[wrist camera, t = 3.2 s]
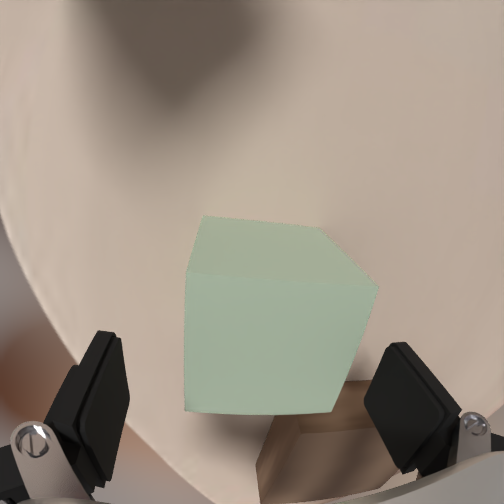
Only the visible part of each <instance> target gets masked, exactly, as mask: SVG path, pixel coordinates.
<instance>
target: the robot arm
mask: <svg viewBox="0 0 504 504" xmlns="http://www.w3.org/2000/svg"><path fill="white" fill-rule="evenodd" d="M129 401H130V394H129V389H128V383H127V377H126V371H125V364H124V357H123V350H122V342H121V338H118V337H116V334H115V333H114V332H107V331H100V330H99V331H97V333H96V335H95V336H94V338H93V340H92V342H91V344H90V345H89V347H88V349H87V351H86V353H85V355H84V357H83V359H82V360H81V362H80V364H79V365H73V366H72V367H71V369H70V370H69V372H68V374H67V376H66V378H65V380H64V382H63V384H62V386H61V388H60V389H59V392H58V393H57V395H56V398H55V399H54V401H53V404H52V406H51V408H50V410H49V412H48V414H47V416H46V418H45V420H44V423H41V422H35V421H31V422H25V423H23V424H21V425H19V426H18V427H17V428H16V429H15V430H14V431H13V433H12V435H11V440H10V441H11V444H10V445H7V446H4V447H1V448H0V504H109V503H104V502H97V501H95V499H94V498H93V496H92V495H91V493H93V492H94V489H95V486H97V487H102V488H104V487H105V482H106V481H111V479H112V474H113V469H114V464H115V460H116V455H117V451H118V447H119V442H120V438H121V434H122V430H123V426H124V422H125V418H126V414H127V410H128V406H129ZM364 406H365V408H366V410H367V412H368V414H369V416H370V417H371V419H372V421H373V423H374V425H375V427H376V429H377V431H378V433H379V435H380V437H381V438H382V440H383V442H384V444H385V446H386V448H387V450H388V452H389V454H390V456H391V458H392V460H393V462H394V464H395V466H396V467H397V468H399V469H400V470H401V472H402V474H406V473H409V472H412V471H414V470H415V469H416V468H417V469H418V475H417V478H416V481H413V482H410V483H408V484H404V485H402V486H398V487H396V488H393V489H389V490H386V491H383V492H379V493H376V494H372V495H369V496H365V497H361V498H357V499H353V500H349V501H344V502H340V503H335V504H504V437H502V436H500V435H496V434H493V433H491V429H490V424H489V423H488V421H487V420H486V419H485V417H483V416H482V415H480V414H478V413H476V412H466V413H465V414H463V415H462V416H461V418H459V416H458V415H459V413H460V412H461V410H462V409H461V408H460V407H459V405H458V404H457V403H456V401H455V400H454V399H453V398H452V396H451V395H450V394H449V393H448V391H447V390H446V389H445V388H444V387H443V385H442V384H441V383H440V382H439V380H438V379H437V378H436V377H435V376H434V374H433V373H432V372H431V371H430V370H429V368H428V367H427V366H426V365H425V364H424V362H423V361H422V360H421V359H420V358H419V357H418V355H417V354H416V353H415V352H414V351H413V350H412V348H411V347H410V346H409V345H408V344H407V343H406V342H396V343H391V344H390V345H389V347H387V348H386V349H385V352H384V354H383V356H382V359H381V361H380V364H379V366H378V368H377V370H376V373H375V375H374V377H373V379H372V382H371V384H370V386H369V388H368V390H367V392H366V394H365V396H364Z"/></svg>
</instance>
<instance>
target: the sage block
mask: <svg viewBox="0 0 504 504" xmlns="http://www.w3.org/2000/svg"><path fill="white" fill-rule="evenodd" d="M378 288H379V286H378V285H377V284H376V283H375V282H374V281H373V280H372V279H371V278H370V277H369V276H368V275H367V274H366V273H365V272H364V271H363V270H362V269H361V268H360V267H359V266H358V265H357V264H356V263H355V262H354V261H353V260H352V259H351V258H350V257H349V256H348V255H347V254H346V253H345V252H344V251H343V250H342V249H341V248H340V247H339V246H338V245H337V244H336V243H335V242H333V241H332V240H331V239H330V238H329V237H328V236H327V235H326V234H325V233H324V232H323V231H322V230H321V229H320V228H317V227H309V226H300V225H292V224H283V223H274V222H265V221H255V220H245V219H235V218H225V217H215V216H204V215H203V217H202V220H201V223H200V227H199V230H198V233H197V237H196V240H195V243H194V247H193V250H192V253H191V257H190V260H189V264H188V267H187V271H186V286H185V319H184V396H185V411H189V412H201V413H215V414H236V415H291V414H312V413H326V412H331V411H332V409H333V407H334V405H335V403H336V400H337V398H338V396H339V394H340V391H341V389H342V387H343V384H344V382H345V380H346V377H347V375H348V372H349V370H350V367H351V365H352V362H353V360H354V357H355V355H356V352H357V349H358V347H359V344H360V341H361V339H362V336H363V333H364V330H365V327H366V325H367V322H368V319H369V316H370V313H371V310H372V307H373V304H374V301H375V297H376V294H377V291H378Z"/></svg>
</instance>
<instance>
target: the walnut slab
mask: <svg viewBox="0 0 504 504" xmlns="http://www.w3.org/2000/svg"><path fill="white" fill-rule="evenodd" d="M371 382H372V380H364V381H345V382H344V384H343V387H342V389H341V391H340V394H339V396H338V398H337V400H336V403H335V405H334V407H333V409H332V411H331V412H326V413H312V414H291V415H275V417H274V419H273V422H272V425H271V427H270V430H269V432H268V435H267V438H266V440H265V443H264V445H263V448H262V450H261V452H260V455H259V457H258V460H257V462H256V473H257V481H258V489H259V497H260V504H286V503H297V502H307V501H315V500H323V499H329V498H335V497H341V496H347V495H352V494H357V493H361V492H366V491H370V490H374V489H378V488H380V487H381V486H382V485H383V484H385V483H386V481H388V480H389V479H390V478H391V477H392V476H393V475H394V474H395V473H396V472H397V471H398V470H399V468H397V467H396V466H395V464H394V462H393V460H392V458H391V456H390V454H389V452H388V450H387V448H386V446H385V444H384V442H383V440H382V438H381V437H380V435H379V433H378V431H377V429H376V427H375V425H374V423H373V421H372V419H371V417H370V416H369V414H368V412H367V410H366V408H365V406H364V396H365V394H366V392H367V390H368V388H369V386H370V384H371Z"/></svg>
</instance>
